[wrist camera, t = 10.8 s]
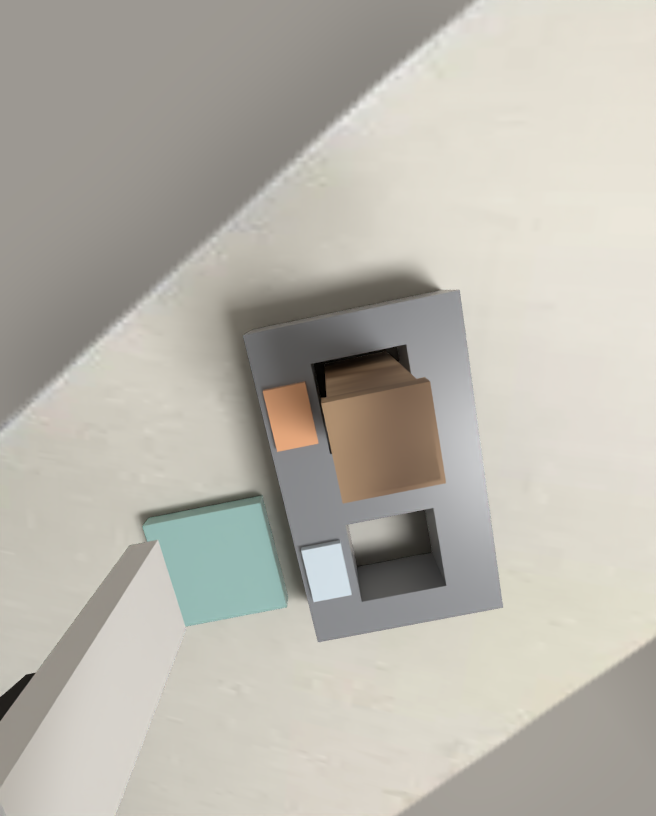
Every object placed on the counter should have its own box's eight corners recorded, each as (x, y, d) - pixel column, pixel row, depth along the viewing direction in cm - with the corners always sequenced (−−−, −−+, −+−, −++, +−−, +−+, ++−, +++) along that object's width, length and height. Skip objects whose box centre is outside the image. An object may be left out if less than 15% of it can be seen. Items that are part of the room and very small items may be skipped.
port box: (318, 603, 35) (318, 646, 31) (252, 329, 30) (241, 335, 26) (482, 571, 35) (505, 611, 30) (441, 290, 30) (461, 289, 26)
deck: (180, 617, 35) (175, 628, 34) (148, 518, 33) (142, 526, 32) (288, 596, 35) (287, 607, 34) (262, 495, 33) (260, 502, 32)
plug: (334, 426, 32) (342, 503, 20) (320, 361, 31) (321, 403, 19) (399, 413, 32) (446, 483, 20) (388, 347, 31) (430, 381, 19)
